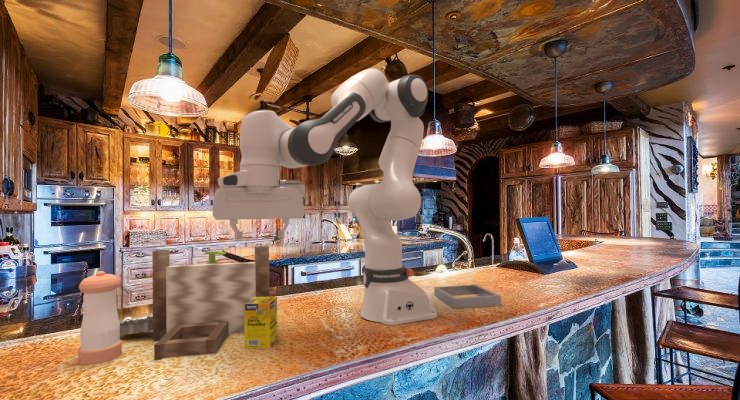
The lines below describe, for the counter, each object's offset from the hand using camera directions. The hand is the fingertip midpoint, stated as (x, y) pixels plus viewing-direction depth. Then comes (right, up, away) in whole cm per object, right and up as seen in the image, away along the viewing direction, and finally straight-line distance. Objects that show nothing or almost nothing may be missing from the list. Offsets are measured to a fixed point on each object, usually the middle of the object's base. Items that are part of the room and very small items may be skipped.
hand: (260, 238), depth 79 cm
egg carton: (-34, -26, +9) cm, 44 cm away
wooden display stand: (-13, -25, +1) cm, 28 cm away
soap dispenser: (-19, -26, +17) cm, 36 cm away
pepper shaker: (-32, -26, -7) cm, 42 cm away
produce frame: (+58, -25, +35) cm, 72 cm away
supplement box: (0, -25, 0) cm, 25 cm away
